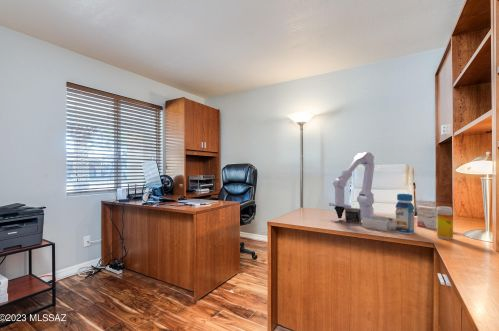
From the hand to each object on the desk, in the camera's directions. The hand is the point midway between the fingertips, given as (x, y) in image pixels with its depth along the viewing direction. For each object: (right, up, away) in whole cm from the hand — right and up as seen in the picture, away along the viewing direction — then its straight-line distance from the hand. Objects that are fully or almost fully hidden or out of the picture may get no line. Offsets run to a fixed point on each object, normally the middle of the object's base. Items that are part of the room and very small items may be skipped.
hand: (339, 218), depth 157 cm
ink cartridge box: (+43, -1, -19) cm, 47 cm away
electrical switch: (+6, -1, -7) cm, 9 cm away
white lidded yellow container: (+35, -1, -41) cm, 54 cm away
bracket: (+15, -1, -18) cm, 24 cm away
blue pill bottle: (+23, -1, -30) cm, 38 cm away
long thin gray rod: (+1, -1, -2) cm, 2 cm away
